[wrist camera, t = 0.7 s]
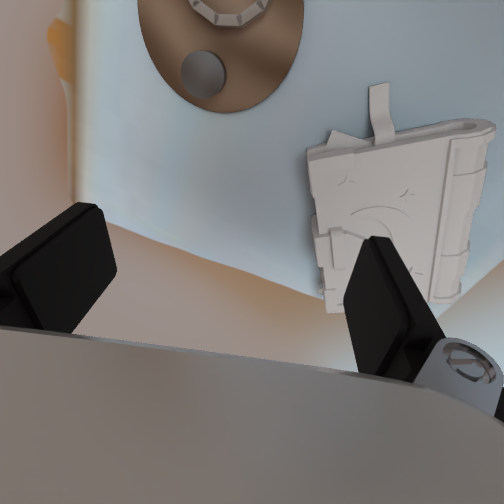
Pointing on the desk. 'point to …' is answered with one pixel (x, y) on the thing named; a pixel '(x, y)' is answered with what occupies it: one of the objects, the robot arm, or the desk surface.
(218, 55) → the carrier plate
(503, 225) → the desk surface
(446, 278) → the book
